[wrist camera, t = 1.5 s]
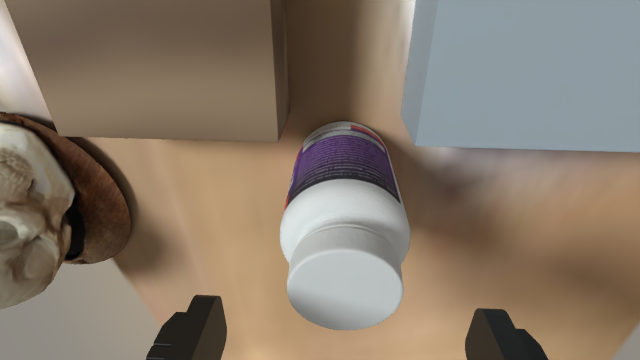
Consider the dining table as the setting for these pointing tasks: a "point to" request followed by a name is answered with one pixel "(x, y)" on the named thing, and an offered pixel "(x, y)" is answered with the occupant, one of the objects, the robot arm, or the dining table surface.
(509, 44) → the slate block
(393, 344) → the dining table surface
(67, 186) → the skull
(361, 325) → the pill bottle
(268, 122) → the walnut block
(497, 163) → the dining table surface
